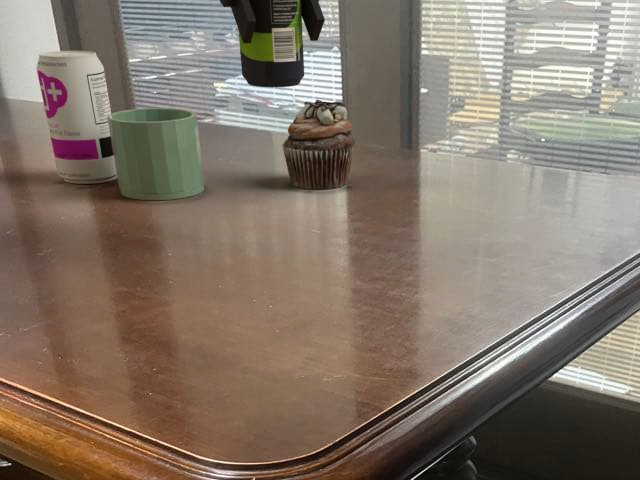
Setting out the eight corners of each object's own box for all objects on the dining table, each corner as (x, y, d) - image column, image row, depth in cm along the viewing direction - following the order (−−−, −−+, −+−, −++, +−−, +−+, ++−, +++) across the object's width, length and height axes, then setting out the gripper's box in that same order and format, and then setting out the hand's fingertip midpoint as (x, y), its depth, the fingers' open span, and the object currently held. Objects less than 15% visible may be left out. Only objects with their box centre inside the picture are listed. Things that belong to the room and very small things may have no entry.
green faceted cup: (102, 195, 112) (89, 118, 107) (152, 178, 120) (141, 105, 115) (174, 203, 109) (164, 124, 104) (220, 185, 117) (212, 111, 112)
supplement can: (76, 188, 115) (50, 58, 107) (49, 177, 120) (23, 53, 112) (132, 178, 120) (112, 54, 111) (104, 168, 125) (83, 48, 116)
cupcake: (301, 172, 124) (296, 93, 118) (365, 177, 121) (364, 97, 116) (272, 187, 116) (266, 104, 111) (340, 193, 114) (337, 108, 108)
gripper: (113, -222, 79) (190, 2, 76) (310, -206, 86) (386, -2, 84) (110, -144, 85) (180, 64, 83) (293, -135, 93) (363, 56, 90)
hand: (284, 31), depth 83 cm, fingers closed on beverage can, 6 cm apart
